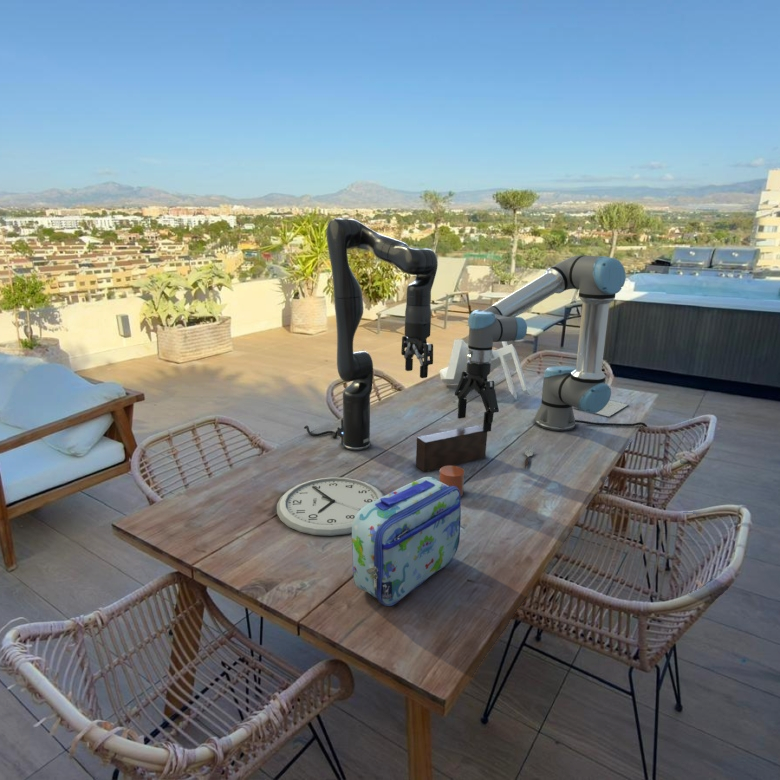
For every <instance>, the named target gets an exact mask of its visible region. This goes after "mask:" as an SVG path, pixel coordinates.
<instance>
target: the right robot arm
mask: <svg viewBox="0 0 780 780" xmlns="http://www.w3.org/2000/svg"><path fill="white" fill-rule="evenodd" d="M626 276H627V275H626V269H625V267H624V265H623V263H622V262H621V261H620V260H619V259H617V258H615V257H609V256H606V255H605V256H604V255H603V256H601V255H587V254H586V255H585V254H580V255H574V256H571V257H568V258H566V259H564V260H562V261H559V262H558V263H556V264H554V265H553V266H550V267H549V268H547V269H546V270H545V272H544V274H543V275H541V276H539V277H538V278H536V279H534V280H532V281H531V282H530V283H528V284H526V285H524V286H522V287H521V288H519V289H517V290H516V291H514V292H513V293H510V294H509V295H507V296H506V297H504V298H503V299H501V300H499V301H497V302H495V303H494V304H492V305H490V306H489V307H487V308H485V309H475V310H472V312H471V313H470V314H469V315H468V317H467V318H468V319H467V324H468V342H467V345H468V356H467V359H468V360H469V361H468V362H467V367H466V371H464V372H462V376H461V379H460V382H459V384H457V386H456V388H455V391H454V396H456V397H457V399H458V401H457V419H459V420H460V419H465V418H466V416H467V404H468V399H467V397H468V395H469V394H470V393H471V392H472V390H474V391H476V392H477V394H478V395H479V396H480V399H481V401H482V403H483V406H484V410H485V411H484V413H483V422H482V423H483V424H482V427H483V432H487V433H489V432H491V431H492V423H493V422H494V414H495V413H499V411H500V409H499V408H500V407H499V404H498V398H497V394H496V390H495V381H494V380H489V379H488V376H489V375H490V373H491V372H490V368H491V363H490V361H491V358H492V350H493V345H494V343H500V342H501V343H502V342H503V341H507V342H517V341H522V340H523V339H524V338H525V337H526V335H527V332H528V324H527V322H526V320H525V319H524V318H523V317H521V316H520V315H521V314H523V313H524V312H526V311H528V310H529V309H531V308H533V307H535V306H536V305H538V304H539V303H542V302H543V301H545V300H546V299H548V298H550V297H551V296H553V295H554V294H561V293H563V292H565V291H567V290H568V291H569V290H578V298H579V299H580V301H581V302H582V306H581V315H580V323H579V324H580V325H579V335H578V344H577V354H576V356H577V357H576V363H575V364H576V365H575V367H574V366H566V365H565V366H564V365H559V366H558V365H557V366H550V367H547V368H546V369H545V370H544V375H543V381H542V392H541V402H540V405H539V407H538V410H537V411H536V413H535V417H534V424H535V425H536V426H537V427H539V428H542V429H544V430H549V431H556V432H567V431H572V430H574V429H575V428H576V423H577V424H586V425H592V426H606V427H607V426H612V427H613V426H614V427H635V426H643V427H644V428H648V425H647V424H646V423H644V422H642V421H641V422H640V421H639V422H635V423H621V422H620V423H617V422H615V423H614V422H594V421H587V420H579V419H576V418H575V417H576V416H575V413H574V409H576V408H577V409H576V410H579V411H581V412H583V413H588V414H596V412H599V411H601V410H602V409H603V408H604V407H605V406H606V405H607V403H608V402H609V400H610V399H611V396H612V390H611V389H612V388H611V387H610V386H609V385H608V383H606V376H607V375H606V374H605V372H604V371H602V370H603V361H604V353H605V346H606V338H607V337H606V336H607V327H608V318H609V312H610V311H609V310H610V304H611V302H613V300H615V298H616V294H618V293H620V291H622V289H623V288H622V287H624V285H625V282H626ZM610 401H611V400H610ZM574 407H575V408H574Z"/></svg>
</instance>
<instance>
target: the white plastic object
mask: <svg viewBox="0 0 780 780" xmlns="http://www.w3.org/2000/svg"><path fill="white" fill-rule="evenodd" d="M501 345H502V347H500V348H498V349H496V350H495V349H492V358H491V361H490V363H491V368H490V373H492V372H494V371H495V370H496V369H497V368H499V367H500V366H502V370H503V373H504V376H505V380H506V383H507V386H508V390H509V393H510V394H511V395H512V397H513V398H514V399H515V400H517V392H516V391H517V390H516V388H515V385H514V381H513V378H512V375H511V371H510V369H509V365H508V361H510V360H513V363H514V366H515V369H516V372H517V376H518V380H519V382H520V385H521V389H522V391H523V393H524V395H525V396H526V397H528V396H531V395H530V390H529V388H528V387H529V386H528V384H527V381H526V378H525V375H524V371H523V369H522V368H523V367H522V366H521V362H520V359H519V355H518V352H517V349H516V347H515V346H514V345H513V343H511V344H508V341H503V342H501ZM467 356H468V343H466V342H465V340H464V339H463V338H460V339H458V338H454V340H453V344H452V349H451V353H450V357H449V362H448V366H446V367H444V368H442V369H440V370H439V371H438V372H439V376H440V381H442V383H443V384H444V385H445V386H449V385H458V384H459V382H460V379H461V376H462V372H464V371H466V367H467V362H468V361H469V360H468V359H467Z"/></svg>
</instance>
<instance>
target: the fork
mask: <svg viewBox="0 0 780 780" xmlns="http://www.w3.org/2000/svg"><path fill="white" fill-rule="evenodd" d="M534 448H535V446H534V445H531V447H530V448H528V447H526V448H525V452H524V455H525V456H526V458H525V460H524V469H527V466H528V464H529V461H530V457H532V456H534Z"/></svg>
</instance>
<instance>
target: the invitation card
mask: <svg viewBox="0 0 780 780" xmlns="http://www.w3.org/2000/svg"><path fill="white" fill-rule="evenodd" d="M628 406H629V404H627V403H623V402H618V401H614V400H609V402H608V403H607V405H606V406H605V407H604V408H603V409H602V410H601V411H599V412H596V413H595V414H596V415H600V416H604V417H608V418H609V417H611V416H613V415H614V414H616V413H617V412H619V411H621V410H623V409H624V408H626V407H628ZM573 409H575V410H578V409H577V408H575V407H573Z"/></svg>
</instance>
